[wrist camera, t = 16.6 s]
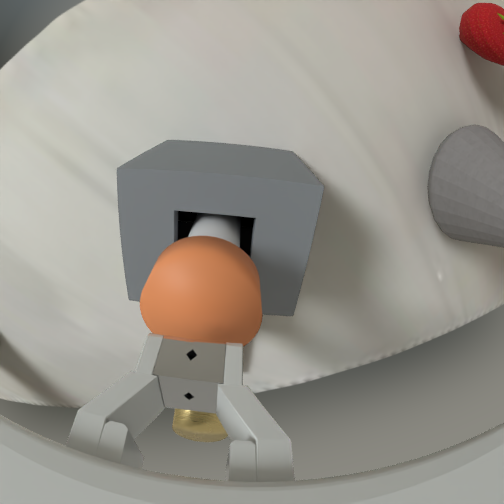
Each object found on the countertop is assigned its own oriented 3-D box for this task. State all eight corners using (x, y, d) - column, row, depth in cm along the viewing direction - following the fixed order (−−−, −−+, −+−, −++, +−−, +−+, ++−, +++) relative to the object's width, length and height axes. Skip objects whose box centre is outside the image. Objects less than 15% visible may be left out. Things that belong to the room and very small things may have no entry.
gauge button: (187, 235, 21) (147, 348, 11) (189, 173, 19) (133, 256, 9) (250, 240, 21) (253, 360, 12) (258, 180, 19) (271, 269, 9)
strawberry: (425, 6, 14) (496, -14, 6) (477, 16, 14) (544, 10, 5) (442, 63, 17) (520, 63, 8) (490, 67, 16) (561, 75, 8)
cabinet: (165, 229, 25) (128, 300, 16) (167, 139, 21) (116, 168, 12) (284, 241, 26) (302, 316, 17) (300, 152, 22) (336, 188, 13)
